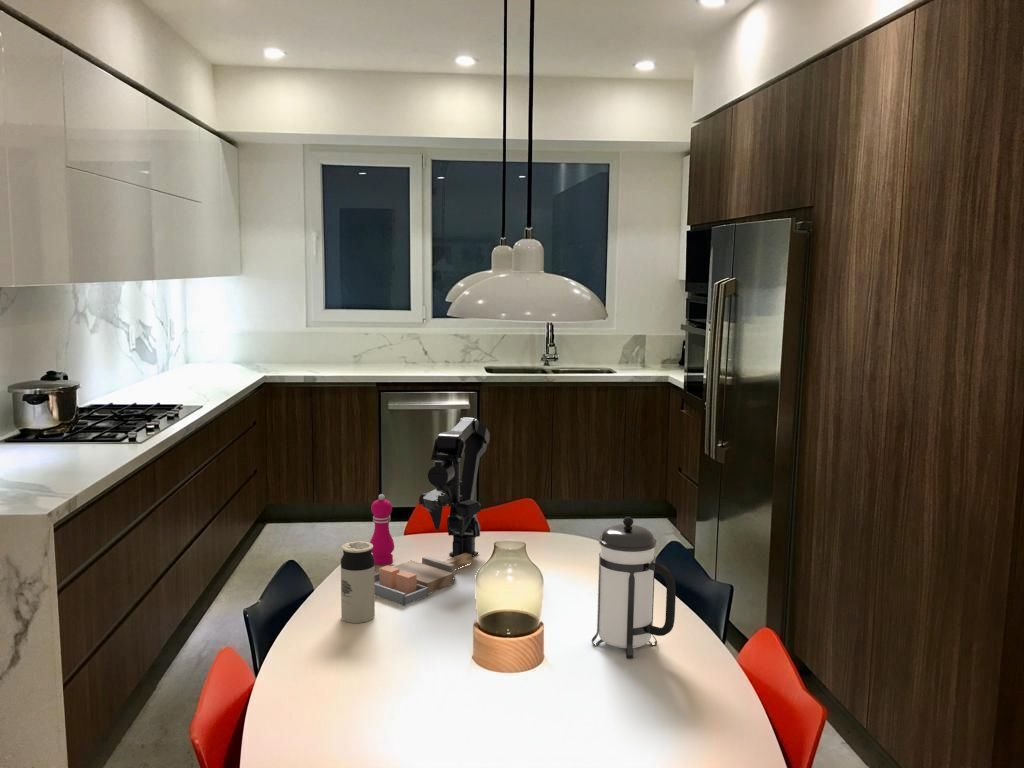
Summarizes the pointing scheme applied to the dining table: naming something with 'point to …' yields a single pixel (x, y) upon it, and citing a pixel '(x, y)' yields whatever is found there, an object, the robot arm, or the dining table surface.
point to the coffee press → (630, 588)
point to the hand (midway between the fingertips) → (449, 532)
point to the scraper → (449, 562)
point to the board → (427, 575)
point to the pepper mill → (382, 532)
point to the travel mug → (357, 582)
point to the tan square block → (388, 576)
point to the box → (399, 593)
